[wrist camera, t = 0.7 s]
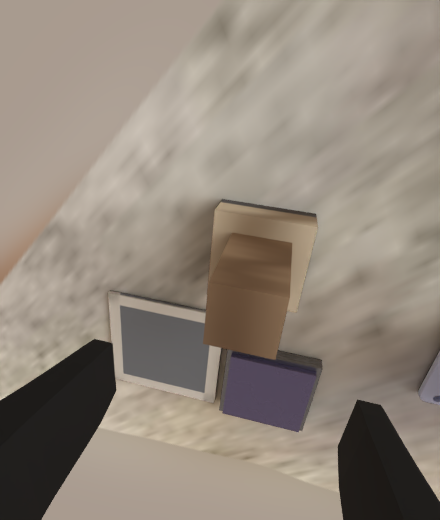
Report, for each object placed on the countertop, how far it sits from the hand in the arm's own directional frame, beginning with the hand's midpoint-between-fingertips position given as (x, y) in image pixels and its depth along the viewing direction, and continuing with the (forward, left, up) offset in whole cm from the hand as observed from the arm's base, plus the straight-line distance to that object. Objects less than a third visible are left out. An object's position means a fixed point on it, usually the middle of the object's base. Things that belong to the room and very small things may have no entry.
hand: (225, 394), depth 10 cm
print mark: (+6, +9, -10) cm, 15 cm away
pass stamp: (0, 0, -10) cm, 10 cm away
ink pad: (-2, +10, -10) cm, 15 cm away
